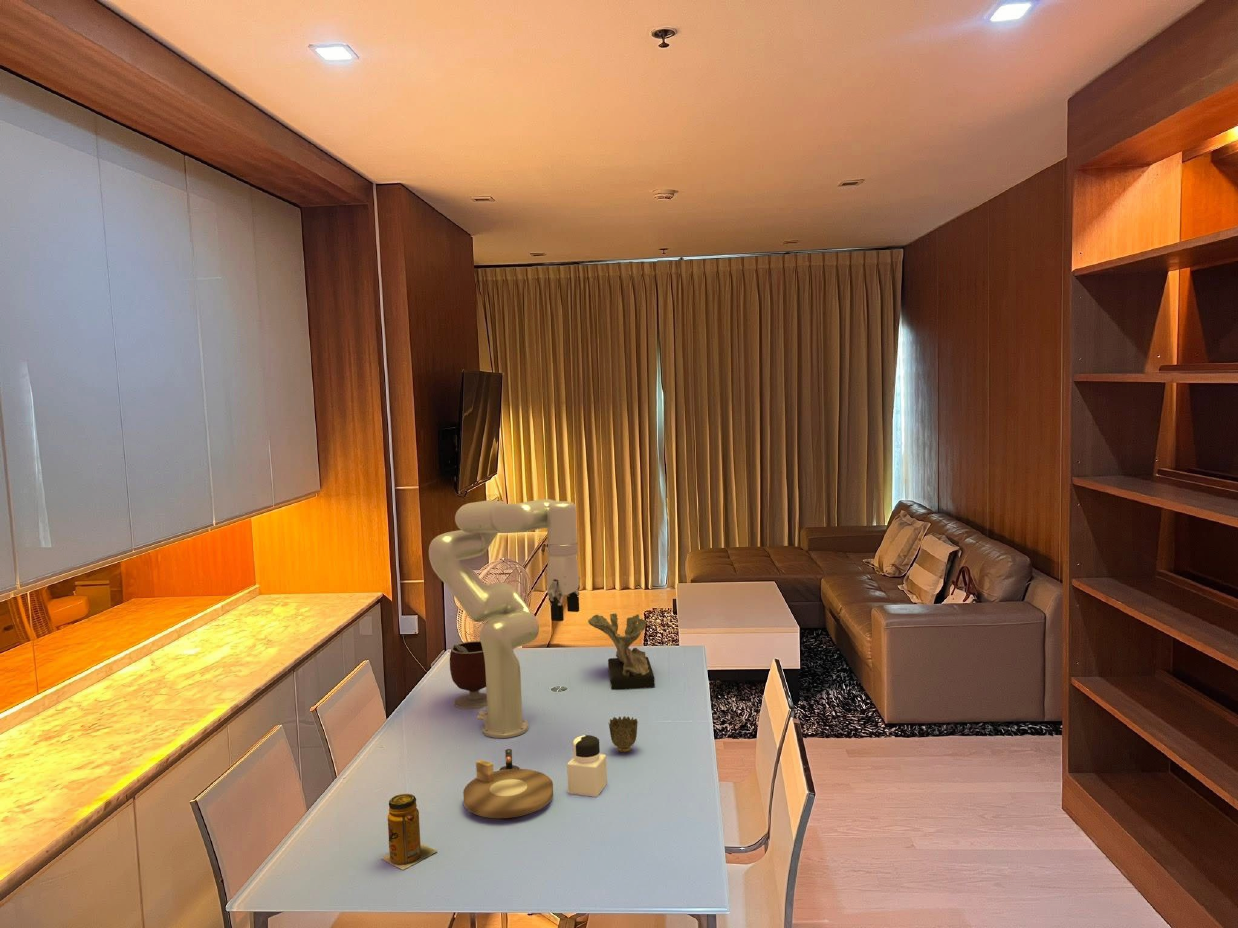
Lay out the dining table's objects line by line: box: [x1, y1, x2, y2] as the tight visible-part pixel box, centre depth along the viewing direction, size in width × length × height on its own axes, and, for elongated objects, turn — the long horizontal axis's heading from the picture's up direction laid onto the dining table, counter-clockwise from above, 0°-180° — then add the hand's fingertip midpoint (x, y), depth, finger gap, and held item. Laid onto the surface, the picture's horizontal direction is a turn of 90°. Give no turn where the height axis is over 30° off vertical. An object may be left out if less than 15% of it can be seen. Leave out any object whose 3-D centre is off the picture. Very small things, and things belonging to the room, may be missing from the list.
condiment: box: [381, 793, 438, 871], centre depth 167 cm, size 7×8×12 cm
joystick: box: [498, 748, 521, 771], centre depth 203 cm, size 7×5×6 cm
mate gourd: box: [449, 640, 487, 710], centre depth 254 cm, size 16×14×20 cm
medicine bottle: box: [566, 734, 608, 798], centre depth 194 cm, size 7×7×12 cm
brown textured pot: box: [608, 715, 639, 754], centre depth 214 cm, size 8×7×8 cm
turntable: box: [462, 759, 554, 819], centre depth 188 cm, size 20×20×6 cm
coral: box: [587, 613, 656, 691], centre depth 270 cm, size 25×20×21 cm
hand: (565, 615), depth 215 cm, fingers open, 9 cm apart
